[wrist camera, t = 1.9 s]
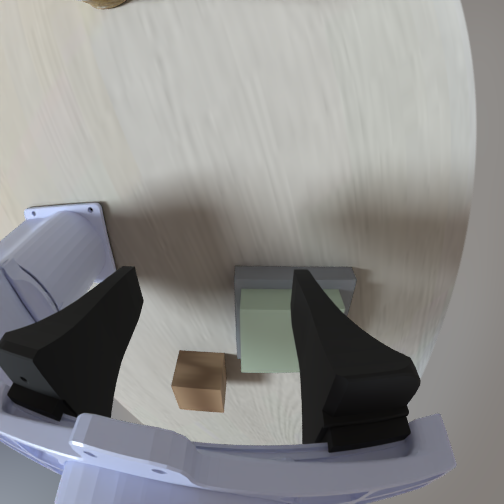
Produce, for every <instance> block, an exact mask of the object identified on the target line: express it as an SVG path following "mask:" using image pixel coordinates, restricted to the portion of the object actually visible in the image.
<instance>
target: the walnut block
mask: <svg viewBox="0 0 504 504" xmlns="http://www.w3.org/2000/svg"><path fill="white" fill-rule="evenodd" d="M226 380H227V377H226V366H225V355H224V353H213V352H196V351H182V350H180V351H179V355H178V359H177V363H176V368H175V372H174V376H173V381H172V385H171V387H172V389H173V392H174V395H175V397H176V400H177V403H178V405H179V408H180V409H185V410H195V411H207V412H223V413H224V404H225V392H226Z"/></svg>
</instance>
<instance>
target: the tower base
mask: <svg viewBox="0 0 504 504" xmlns="http://www.w3.org/2000/svg"><path fill="white" fill-rule="evenodd" d="M294 269H308V270H309V271H310V273H311V274H312V275H313V277H314V278H315V280H316V281H317V283H318V284H319V285H320V287H321V288H322V289H339V292H340V295H341V298H342V301H343V304H344V307H345V312H344V314H345V315H346V316H347V315H348V311H349V308H350V304H351V300H352V297H353V293H354V289H355V285H356V281H357V279H356V277H355V274H354V272H353V270H352V268H351V267H287V266H235V276H234V290H235V317H236V341H237V359H241V337H240V300H241V289H292V284H293V273H294Z"/></svg>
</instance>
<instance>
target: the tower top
mask: <svg viewBox="0 0 504 504" xmlns="http://www.w3.org/2000/svg"><path fill="white" fill-rule="evenodd" d="M323 290H324V292H325V293H326V294H327V295H328V297H329V298H330V299H331V300H332V301H333V302H334V304H335V305H336V306H337V307H338V308H339V309H340V310H341V311H342V312H343V313H344V312H345V307H344V304H343V301H342V298H341V295H340V292H339V289H323ZM291 294H292V289H241V300H240V337H241V372H244V373H291V372H300V369H299V363H298V357H297V352H296V346H295V341H294V336H293V330H292V324H291V309H290V303H291Z"/></svg>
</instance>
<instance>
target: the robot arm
mask: <svg viewBox="0 0 504 504" xmlns="http://www.w3.org/2000/svg"><path fill="white" fill-rule="evenodd" d="M90 207H91V208H92V209H93V211H91V210H90ZM35 213H36V214H35ZM24 215H25V219H26V220H25V221H24V222H23V223H21V224H20V225H19V226H18V227H16V228H15V229H14V230H13V231H12V232H10V233H9V234H8V235H7V236H6V237H5V238H3V239H2V240H1V241H0V441H1V442H2V443H4V444H5V445H7V446H8V447H10V448H12V449H14V450H15V451H17V452H19V453H20V454H22V455H24V456H26V457H28V458H29V459H31V460H33V461H35V462H37V463H39V464H40V465H42V466H44V467H46V468H48V469H50V470H52V471H54V472H56V473H58V474H60V475H62V477H61V480H60V484H59V488H58V491H57V495H56V499H55V503H54V504H367V503H371V502H375V501H379V500H383V499H386V498H390V497H394V496H397V495H400V494H403V493H407V492H410V491H413V490H416V489H419V488H422V487H425V486H426V485H428V484H430V483H432V482H433V481H435V480H437V479H438V478H440V477H442V476H443V475H445V474H446V473H448V472H449V471H451V470H453V469H454V468H455V467H456V461H455V457H454V454H453V451H452V447H451V445H450V441H449V438H448V435H447V432H446V429H445V426H444V423H443V420H442V417H441V414H439V413H438V414H434V415H430V416H426V417H422V418H418V419H415V420H413V421H411V422H409V423H408V421H407V417H406V416H408V414H409V410H408V407H407V404H408V403H409V401H410V400H411V399H412V397H413V396H414V395H415V393H416V391H417V390H418V388H419V386H420V378H419V375H418V373H417V370H416V367H415V365H414V364H413V362H412V360H411V358H410V357H408V356H406V355H404V354H401V353H399V352H397V351H395V350H393V349H391V348H390V347H388V346H386V345H384V344H383V343H381V342H379V341H378V340H376V339H375V338H373V337H372V336H370V335H369V334H368V333H366V332H365V331H364V330H362V329H361V328H360V327H358V326H357V325H356V324H355V323H354V322H353V321H351V320H350V319H349V318H348V317H347V316H346V315H345V314H344V313H343V312H342V311H341V310H340V309H339V308H338V307H337V306H336V305H335V304H334V302H333V301H332V300H331V299H330V298H329V297H328V295H327V294H326V293H325V292H324V290H323V289H322V288H321V287H320V285H319V284H318V283H317V281H316V280H315V278H314V277H313V275H312V274H311V273H310V271H309V270H308V269H294V273H293V284H292V294H291V303H290V309H291V324H292V330H293V336H294V341H295V346H296V352H297V357H298V363H299V369H300V380H301V399H302V444H299V445H228V444H213V443H202V442H192V441H190V440H189V439H188V438H187V437H186V436H183V435H181V434H179V433H176V432H174V431H171V430H167V429H162V428H158V427H153V426H147V425H141V424H136V423H131V422H126V421H122V420H117V419H113V418H111V411H112V404H113V397H114V392H115V387H116V382H117V378H118V373H119V370H120V366H121V362H122V359H123V356H124V354H125V351H126V349H127V346H128V344H129V341H130V339H131V337H132V334H133V332H134V329H135V327H136V325H137V322H138V320H139V316H140V313H141V309H142V305H143V297H142V293H141V290H140V286H139V282H138V278H137V274H136V270H135V267H130V266H123V267H121V268H120V269H118V270H116V267H115V263H114V259H113V255H112V251H111V247H110V243H109V239H108V234H107V230H106V225H105V221H104V216H103V211H102V207H101V205H100V204H99V203H82V204H67V205H55V206H43V207H32V208H27V209H25V211H24ZM93 282H98V283H99V284H98V285H97V286H96V287H94V288H93V289H92V290H90V291H89V292H87V291H88V290H89V288H90V287H91V285H92V284H93Z"/></svg>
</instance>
